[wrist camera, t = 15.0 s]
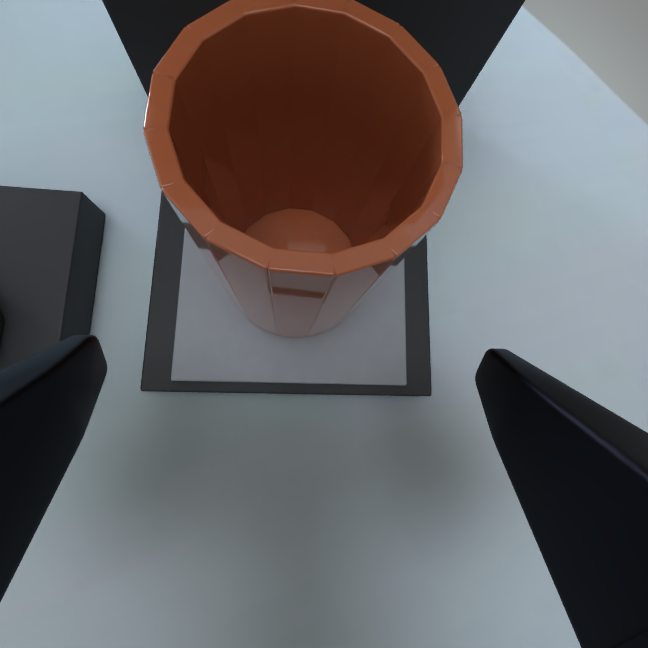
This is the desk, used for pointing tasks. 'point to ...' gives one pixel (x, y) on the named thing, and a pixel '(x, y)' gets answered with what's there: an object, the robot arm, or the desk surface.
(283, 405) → the desk surface
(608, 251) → the desk surface
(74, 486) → the desk surface
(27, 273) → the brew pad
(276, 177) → the cup
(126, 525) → the desk surface
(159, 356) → the coffee maker
